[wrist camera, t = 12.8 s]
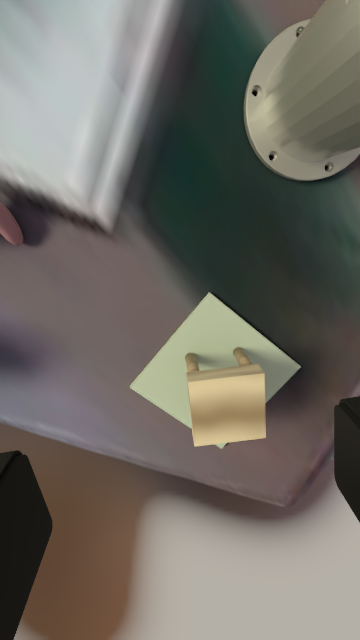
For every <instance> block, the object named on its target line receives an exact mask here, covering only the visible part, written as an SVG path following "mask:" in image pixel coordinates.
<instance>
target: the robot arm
mask: <svg viewBox="0 0 360 640" xmlns="http://www.w3.org/2000/svg"><path fill="white" fill-rule="evenodd" d="M296 35H297V36H298V37H297V36H296ZM253 91H254V92H256V96H254V95H253V94H252V92H253ZM244 123H245V128H246V133H247V136H248V139H249V141H250V144H251V147H252V148H253V150H254V152H255V153H256V155H257V157H258V158H259V159H260V160H261V161H262V162H263V164H264V165H265V166H266V167H267V168H269V169H270V170H272V171H273V172H274V173H276V174H277V175H280V176H282V177H284V178H287V179H291V180H296V181H313V180H318V179H322V178H325V177H329V176H331V175H334V174H336V173H337V172H339V171H341V170H343V169H344V168H346V167H347V166H348V165H349V164H351V163H352V162H353V161H354V160H355V159H356V158H357V157H358V156H359V155H360V0H326V1H325V2H324V3H323V5H322V6H321V7H320V8H319V10H318V11H317V12H316V14H315V15H314V16H313V18H312V19H307V20H303V21H300V22H298V23H296V24H294V25H292V26H290V27H288V28H287V29H285V30H284V31H283V32H281V33H280V34H279V35H278V36H276V37H275V38H274V39H273V41H272V42H271V43H270V44H269V45H268V46H267V47H266V48H265V50H264V51H263V53H262V54H261V56H260V57H259V59H258V61H257V62H256V64H255V66H254V68H253V70H252V72H251V74H250V78H249V81H248V84H247V87H246V92H245V98H244ZM269 155H272V157H273V159H272V160H270V159H269ZM325 166H326V167H327V170H326V171H325ZM334 465H335V466H334V467H335V468H334V474H335V480H336V483H337V486H338V488H339V490H340V491H341V493H342V494H343V496H344V498H345V499H346V501H347V503H348V504H349V506H350V508H351V509H352V511H353V512H354V514H355V516H356V517H357V519H358V520H359V522H360V396H359V397H353V398H346V399H342V400H340V403H339V405H336V406H335V409H334ZM51 532H52V519H51V516H50V514H49V511H48V508H47V506H46V503H45V500H44V498H43V495H42V493H41V490H40V488H39V485H38V483H37V480H36V477H35V475H34V472H33V470H32V467H31V464H30V462H29V459H28V457H27V456H26V455H22V453H21V452H20V451H11V452H5V453H0V640H13V639H14V636H15V634H16V631H17V628H18V625H19V622H20V619H21V617H22V614H23V611H24V608H25V605H26V603H27V600H28V597H29V594H30V591H31V588H32V586H33V583H34V580H35V577H36V574H37V572H38V568H39V566H40V563H41V560H42V558H43V555H44V552H45V549H46V546H47V544H48V541H49V537H50V535H51Z"/></svg>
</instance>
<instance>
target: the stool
mask: <svg viewBox="0 0 360 640" xmlns="http://www.w3.org/2000/svg"><path fill="white" fill-rule="evenodd" d="M233 355H234V356H235V358H236V360H237V362H238V364H239V366H235V367H226V368H218V369H209V370H201V371H199V367H198V363H197V359H196V356H195V354H194V353H188V354H186V356H185V360H186V366H187V371H188V372H186V374H187V384H188V394H189V404H190V414H191V424H192V434H193V440H194V446H203V445H212V444H220V443H228V442H236V441H244V440H252V439H260V438H266V420H265V373H264V372H263V370H262V369H261V367H260V366H259V364H252V363H251V361H250V360H249V358H248V357H247V355H246V353H245V352H244V350H243V349H242V348H240V347H237V348H235V349H234V350H233Z"/></svg>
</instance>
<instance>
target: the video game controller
mask: <svg viewBox="0 0 360 640" xmlns="http://www.w3.org/2000/svg"><path fill="white" fill-rule="evenodd" d="M0 233H1V234H2V235H3V236H4V238H5V239H6V240H7V241H9V242H10V243H12V244H14V245H17V246H19V245H21V244H22V243H23V234H22V231H21V229H20V227H19V225H18V223H17V222H16V220H15V218H14V217H13V215H12V214H11V213H10V211H9V210H8V209H7V208H6V207H5V206H4V205H3V203H2V202H1V201H0Z"/></svg>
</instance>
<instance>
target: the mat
mask: <svg viewBox="0 0 360 640" xmlns="http://www.w3.org/2000/svg"><path fill="white" fill-rule="evenodd" d="M237 347H240V348H242V349H243V350H244V352H245V353H246V355H247V357H248V358H249V360H250V361H251V363H252V364H259V366H260V367H261V369H262V370H263V372H264V373H265V404H266V402H267V401H268V400H269V399H270V398H271V397H272V396H273V395H274V394H275V393H276V392H277V391H278V390H279V389H280V388H281V387H282V386H283V385H284V384H285V383H286V382H287V381H288V380H289V379H290V378H291V377H292V376H293V375H294V374H295V373H296V372H297V371H298V370H299V369H300V368H301V366H300V365H299V364H297V363H296V362H295V361H294V360H292V359H291V358H290V357H289V356H287V355H286V354H285V353H284V352H283V351H281V350H280V349H279V348H278V347H276V346H275V345H274V344H273V343H271V342H270V341H269V340H268V339H266V338H265V337H264V336H263V335H262V334H260V333H259V332H258V331H257V330H255V329H254V328H253V327H252V326H250V325H249V324H248V323H247V322H246V321H244V320H243V319H242V318H241V317H239V316H238V315H237V314H236V313H234V312H233V311H232V310H231V309H230V308H228V307H227V306H226V305H225V304H223V303H222V302H221V301H220V300H218V299H217V298H216V297H215V296H214V295H212V294H211V293H210V292H209V293H208V294H207V295H206V296H205V298H204V299H203V300H202V301H201V302H200V303H199V305H198V306H197V307H196V308H195V309H194V311H193V312H192V313H191V314H190V315H189V316H188V318H187V319H186V320H185V321H184V322H183V324H182V325H181V326H180V327H179V328H178V329H177V331H176V332H175V333H174V334H173V335H172V337H171V338H170V339H169V340H168V341H167V342H166V344H165V345H164V346H163V347H162V348H161V350H160V351H159V352H158V353H157V354H156V356H155V357H154V358H153V359H152V360H151V361H150V363H149V364H148V365H147V366H146V367H145V369H144V370H143V371H142V372H141V373H140V374H139V376H138V377H137V378H136V379H135V380H134V382H133V383H132V384H131V385H130V388H131V389H133V390H134V391H136V392H137V393H139V394H140V395H142V396H143V397H145V398H146V399H148V400H149V401H151V402H152V403H154V404H155V405H157V406H158V407H160V408H161V409H163V410H164V411H166V412H167V413H169V414H170V415H172V416H173V417H175V418H176V419H178V420H179V421H181V422H182V423H184V424H185V425H187V426H188V427H190V428H191V429H192V424H191V414H190V404H189V394H188V384H187V374H186V372H188V371H187V366H186V360H185V356H186V354H188V353H194V354H195V356H196V359H197V363H198V367H199V371H201V370H209V369H218V368H226V367H235V366H239V364H238V362H237V360H236V358H235V356H234V355H233V350H234V349H235V348H237ZM226 444H227V443H220V444H215V445H216V446H218V447H219V448H221V449H222V448H223V447H224V446H225V445H226Z"/></svg>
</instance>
